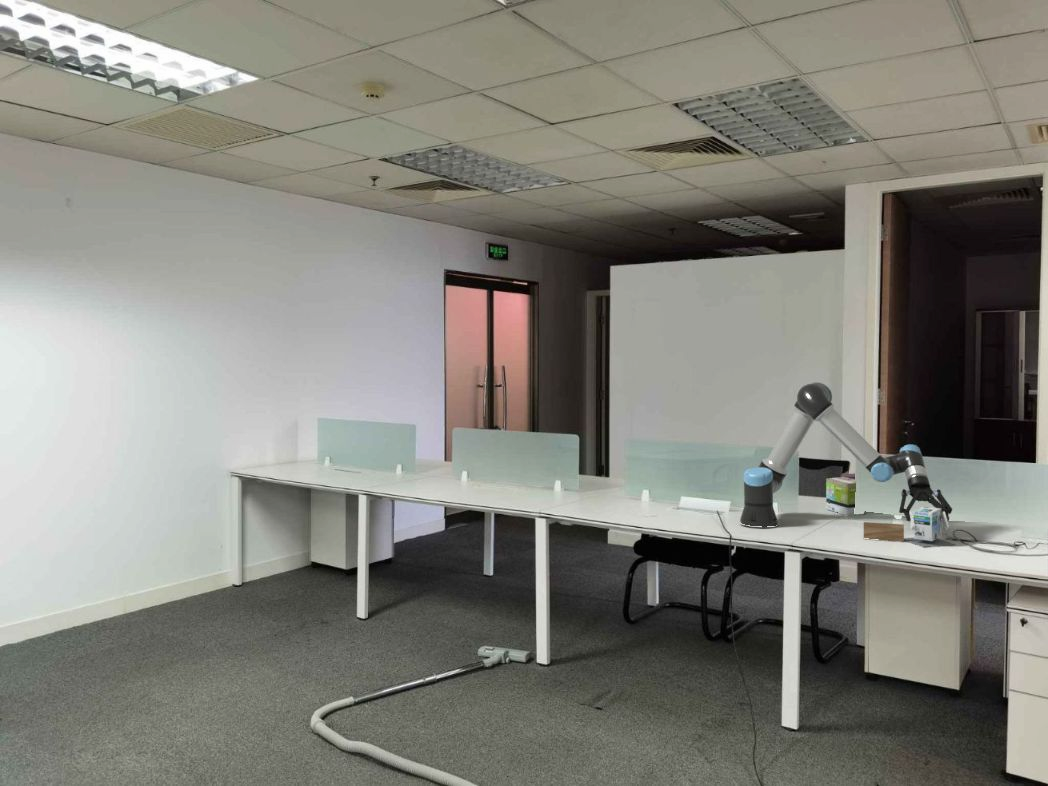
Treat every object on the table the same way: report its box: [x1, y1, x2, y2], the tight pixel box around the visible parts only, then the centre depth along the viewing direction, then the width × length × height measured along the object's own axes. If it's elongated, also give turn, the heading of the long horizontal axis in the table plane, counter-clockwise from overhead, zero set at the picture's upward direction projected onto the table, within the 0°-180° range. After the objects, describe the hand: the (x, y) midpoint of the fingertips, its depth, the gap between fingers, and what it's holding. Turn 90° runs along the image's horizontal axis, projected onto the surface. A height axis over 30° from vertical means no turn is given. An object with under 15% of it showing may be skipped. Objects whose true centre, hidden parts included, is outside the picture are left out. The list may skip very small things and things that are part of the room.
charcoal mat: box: [904, 537, 956, 548], centre depth 301 cm, size 13×13×1 cm
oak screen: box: [863, 521, 905, 543], centre depth 305 cm, size 1×14×6 cm, turn 65°
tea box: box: [825, 476, 856, 517], centre depth 358 cm, size 15×10×15 cm, turn 17°
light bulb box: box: [913, 506, 943, 541], centre depth 301 cm, size 11×7×11 cm, turn 135°
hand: (930, 528), depth 298 cm, fingers closed on light bulb box, 11 cm apart
